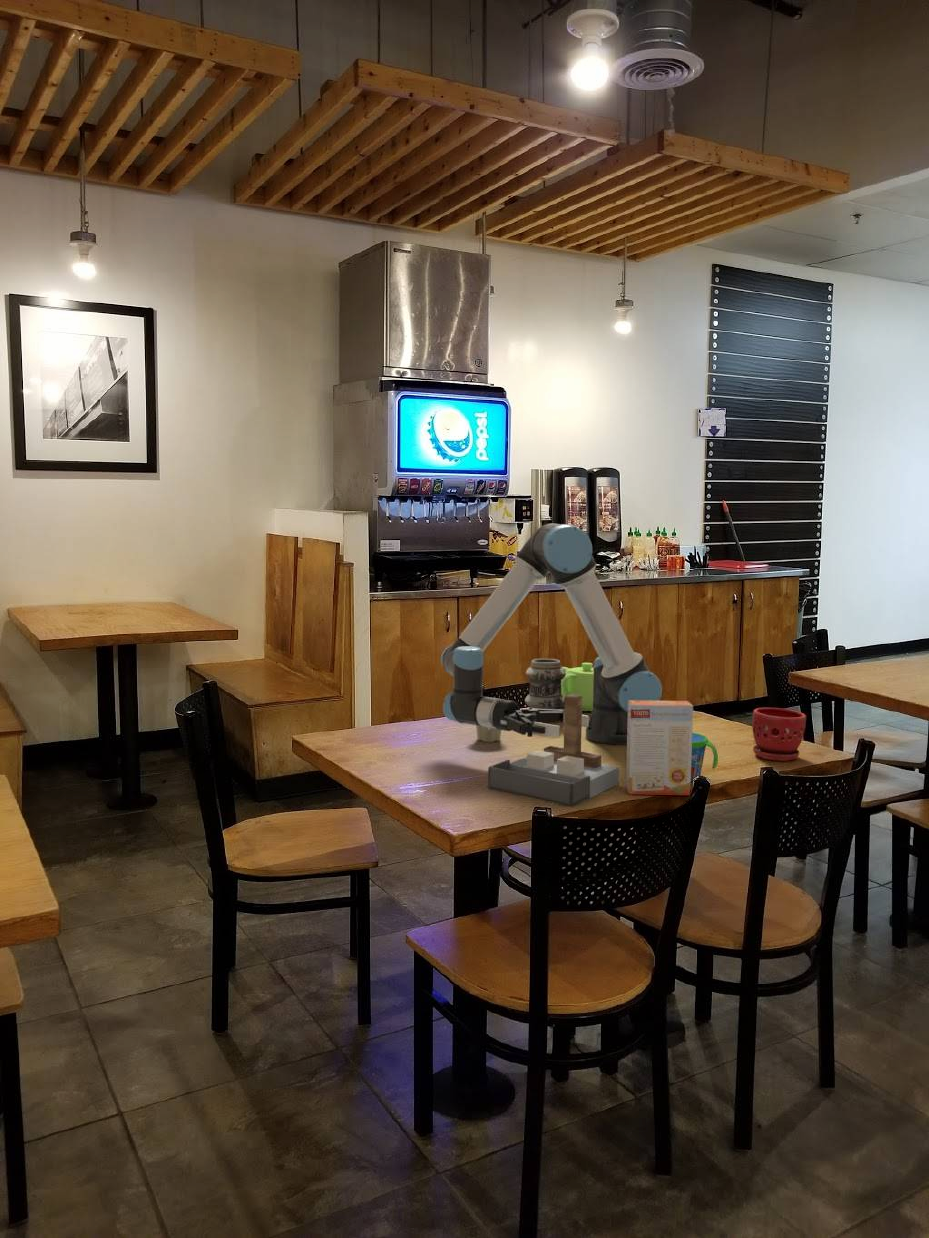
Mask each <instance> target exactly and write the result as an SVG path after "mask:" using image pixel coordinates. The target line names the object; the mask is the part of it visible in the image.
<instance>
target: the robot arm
mask: <svg viewBox="0 0 929 1238" xmlns="http://www.w3.org/2000/svg"><path fill="white" fill-rule="evenodd" d="M514 560H515V561H514V564H513V566H512V567H511V568H510V570H509V571H508V572H507V573H506V575H505V576H504V577H503V579H502V580H501V582H500V583H499V584H498V585H497V587H496V588H495V589H494V590H493V592H492V593H491V594H490V595H489V597H488V598H487V600H486V601H485V602H484V604H482V606H481V607H480V609H479V610H478V612H476V614H475V616H474V617H473V618H472V620H470V622H469V623H468V624H467V626H466V627H465V628H464V630H463V631H462V633H461V634H460V635H459V636H458V638H457V639H455V641H454V643H453V644H452V645H449V646H447V647H446V648H445V649H444V650H443V651H442V652H441V657H440V662H441V665H442V667H443V669H444V670H445V671H446V673H447V674H449V675H451V676H452V677H453V678H452V679H453V687H452V691H451V692H449V693H447V695H446V696H445V698H444V702H443V704H442V709H443V710H442V711H443V715H444V717H446V719H448V720H449V721H453V722H456V723H459V724H462V725H463V724H466V725H471V726H472V725H473V726H476V725H478V726H483V727H488V730H491V728H494V729H496V728H497V729H499V730H501V731H507V732H511V731H513V732H516V733H518V734H520V735H523V736H525V735H527V737H528V738H530V737H533V734H534V735H539V736H544V737H549V738H550V737H551V738H556V739H559V738H560V725H556V724H551V723H540V722H554V723H564V713H565V707H563V709H558V710H557V709H537V708H530V707H528V708H520V707H519V705H518V703H517V702H516V701H514V700H509V699H503V698H502V699H501V698H496V697H491V696H490V697H489V696H483V691H484V689H483V687H484V686H483V685H484V684H483V683H484V661H485V660H484V651H485V650H486V648H487V647H488V646H489V645H490V643H491V642H492V641H493V640H494V638H495V637H496V636H497V634H498V633H499V632H500V630H501V629H502V628H503V626H504V625H505V623H507V621H508V620H509V619H510V618H511V616H512V615H513V614H514V612H515V611H516V610H517V608H518V607H519V606H520V605H521V603H522V602H523V601H524V600H525V598H526V596H527V595H528V594H529V593H530V592H531V590H532V589H533V587H534V586H536V585H535V584H537V582H538V581H541V580H543V581H544V579H545V578H546V577H547V576H548V575H549V574H550V576H551V578H552V580H553V582H554V584H555V585H556V586H559V587H562V588H564V590H565V592H566V595H567V596H568V597H567V598H569V601H570V602H571V605H572V606H573V608H574V611H575V613H576V614H577V617H578V618H579V620H580V622H581V624H582V626H583V627H584V630H585V632H586V634H587V636H588V638H589V640H590V642H591V644H592V645H593V648H594V649H595V651H596V654H597V655H598V657H596V658H595V660H594V662H593V667H592V668H593V671H594V679H593V711H591V714H590V716H589V715H585V714H582V727H583V728H585V739H587V740H589V741H592V742H595V743H598V744H599V743H601V744H607V745H608V744H609V745H627V723H628V701H629V700H649V701H661V697H662V693H663V687H662V686H663V685H662V683H661V681H660V679H659V677H657V675H656V674H655V673H654V672H652V671H650V669H649V667H648V666H647V663H646V661H645V659H644V657H643V655H642V653H639V652H635V651H634V649H633V648H632V645H631V644H630V642H629V640H628V638H627V636H626V634H625V632H624V630H623V628H622V625H621V623H620V622H619V620H618V618H617V616H616V614H615V611H614V609H613V608H612V605H611V604H610V602H609V600H608V597H607V596H606V594H605V591H604V590H603V587H602V585H601V584H600V581H599V579H598V578H597V575H596V574H595V572H596V571H595V570H596V568H597V567H596V566H597V563H596V560H595V558H594V556H593V544H592V541H591V539H590V536H588V534H587V533H586V532H585V531H584V530H583V529H581V528H579V526H578V527H577V526H576V525H572V524H568V523H567V524H566V523H561V524H560V523H557V522H556V523H553V522H551V523H547V524H543V525H542V526H540V527H539V528H537V529H536V530H535V531H534V532H533V533H532V534H531V536H530V537H529V538H528V539H527V540H526V542H525V543H524V545H523V546H522V547H521V548H520V550H519V551H518V553H517V554H516V556H515V557H514ZM534 719H535V721H534Z"/></svg>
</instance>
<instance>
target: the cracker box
mask: <svg viewBox="0 0 929 1238" xmlns="http://www.w3.org/2000/svg"><path fill="white" fill-rule="evenodd" d="M693 715H694V705H693V704H692V703H691V702H690V701H689V700H659V701H649V700H629V701H628V723H627V744H626V774H625V775H626V776H625V779H626V780H625V788H626V791H627V792H628V795H630V796H631V795H635V796H637V795H640V796H641V795H642V796H645V795H646V796H649V795H650V796H684V797H685V796H691V785H692V784H691V782H692V781H691V756H692V733H693V724H694V723H693V720H694V719H693Z"/></svg>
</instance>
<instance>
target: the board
mask: <svg viewBox="0 0 929 1238" xmlns="http://www.w3.org/2000/svg"><path fill="white" fill-rule="evenodd" d="M510 771H514V772H519V773H524V774H529V775H534V776H539V777H543V778H548V779H553V780H558V781H563V782H568V783H573V782H575V781H577V780H579V779H582V778H584V777H586V776H590V798H592V797H594V796H597V795H599V794H601V793H603V792H605V791H607V790H609V789H610V788H613V787H616V786H617V785H619V784H620V766H614V765H609V764H605V763H601V766H599V767H597V768H590V767H585V766H584V772H581V773H579V774H577V775H575V776H572V775H567V774H562V773H557V761H554V766H552V767H549V768H547V769H544V770H542V769H537V768H532V767H527V756H525V757H523V758H520V759H518V760H515V761H512V762H510ZM590 798H589V799H590Z"/></svg>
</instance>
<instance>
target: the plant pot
mask: <svg viewBox="0 0 929 1238" xmlns="http://www.w3.org/2000/svg"><path fill="white" fill-rule="evenodd" d="M751 722H752V723H751V724H752V725H751V726H752V735H753V739H754V741H755V744H756V745H754V746H753V747H752V751H753V752H754V754H755V755H756V756H758V757H760V758H762V759H763V760H771V761H781V762H784V761H785V762H787V761H791V760H795V759H797V758H798V757H799V755H800V750H798V748H799V747H800V746H801V743H802V742H803V738H804V734H805V729H806V723H807V715H806V714H805V713H803V712H800V711H797V710H793V709H792V710H791V709H787V708H779V707H757V708H755V709H754V710H753V712H752V721H751ZM766 727H767V728H768V729H766ZM787 729H788V731H787Z"/></svg>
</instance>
